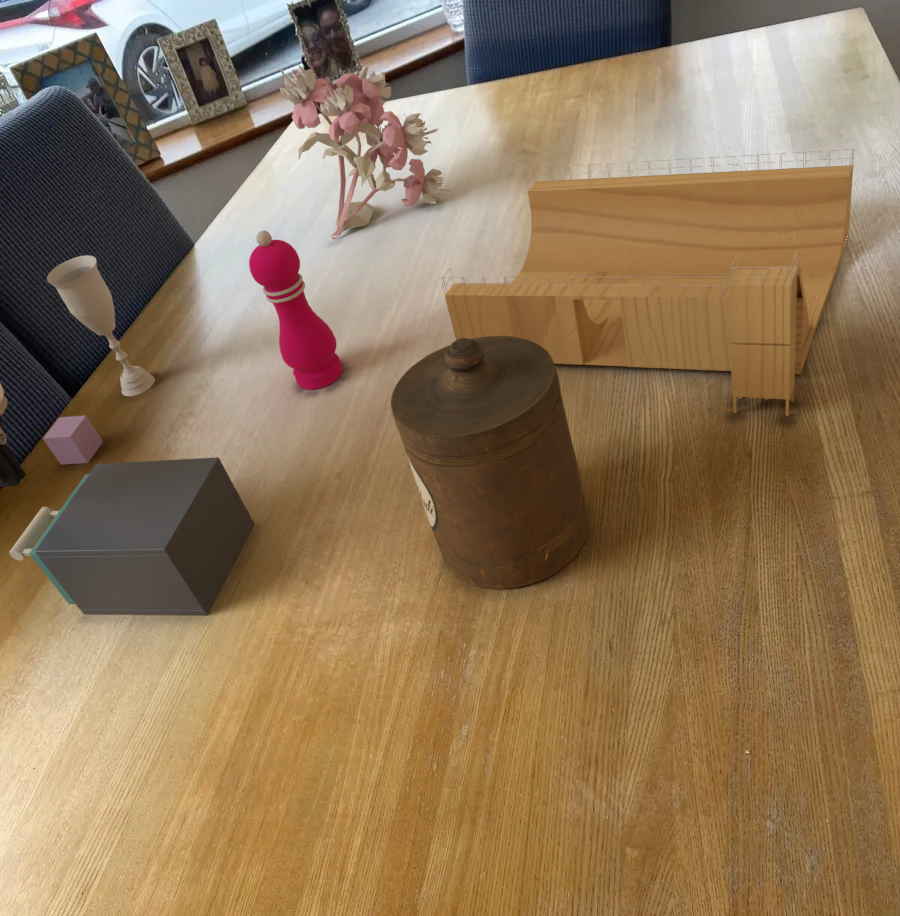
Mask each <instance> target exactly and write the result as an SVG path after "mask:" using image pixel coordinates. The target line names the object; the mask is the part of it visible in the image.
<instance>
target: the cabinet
mask: <svg viewBox="0 0 900 916" xmlns="http://www.w3.org/2000/svg"><path fill="white" fill-rule="evenodd" d="M88 474H89V476H88V477H87V478H86V480H85V481H84V483H83V484H82V485H81V487H80V488H79V490H78V491H77V493H76V494H75V495H74V497H73V498H72V500H71V501H70V502H69V504H68V505H67V507H66V508H65V509H64V511H63V512H62V514H61V515H60V516H59V518H58V519H57V521H56V522H55V524H54V525H53V526H52V528H51V529H50V531H49V532H48V533H47V535H46V536H45V538H44V539H43V540H42V542H41V543H40V545H39V546H38V547H37V549H36V550H35V553H36V554H37V555H38V556H39V558H40V559H41V561H42V562H43V563H44V564H45V566H46V567H47V568H48V569H49V571H50V572H51V573H52V575H53V576H54V577H55V578H56V580H57V581H58V582H59V583H60V585H61V586H62V587H63V588H64V590H65V591H66V592H67V594H68V595H69V596H70V597H71V599H72V600H73V601H74V602H75V604H74V605H76V607H77V608H78V609H79V610H80V612H81V613H82V614H83V615H130V616H131V615H132V616H133V615H137V616H139V615H140V616H141V615H142V616H143V615H144V616H147V615H148V616H208V615H209V613H210V611H211V608H212V607H213V605H214V603H215V601H216V599H217V597H218V595H219V594H220V592H221V589H222V587H223V585H224V584H225V581H226V580H227V578H228V577H229V574H230V572H231V570H232V568H233V566H234V564H235V562H236V560H237V559H238V556H239V554H240V553H241V551H242V549H243V547H244V545H245V543H246V541H247V539H248V538H249V535H250V533H251V531H252V530H253V527H254V526H255V522H254V521H253V519H252V517H251V515H250V512H249V511H248V509H247V508H246V505H245V503H244V502H243V500H242V498H241V496H240V494H239V492H238V491H237V488H236V487H235V485H234V483H233V481H232V479H231V478H230V475H229V474H228V472H227V471H226V468H225V466H224V464H223V463H222V461H221V459H220V457H219V456H218V457H217V456H215V457H200V458H199V457H198V458H180V459H164V460H161V459H160V460H146V461H145V460H144V461H126V462H125V461H124V462H112V463H111V462H109V463H96V464H95V466H94V467H93V468H92V470H91V471H90V473H88Z"/></svg>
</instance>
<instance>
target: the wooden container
mask: <svg viewBox="0 0 900 916" xmlns="http://www.w3.org/2000/svg"><path fill="white" fill-rule="evenodd" d="M561 390H562V389H561V384H560V379H559V375H558V371H557V368H556V364H554V362H553V359H552V357H551V356H550V354H549V353H548V352H547V351H546V350H545V349H544V348H543V347H541V346H540V345H538V344H536V343H534V342H532V341H529V340H526V339H522V338H518V337H512V336H486V337H479V338H473V339H468V338H461V339H458V340H456V339H455V340H454V341H453V342H452V343H451V344H449V345H447V346H444V347H442V348H440V349H438V350H436V351H434V352H431V353H430V354H427V355H426V356H424V357H422V358H421V359H420V360H418V361H417V362H416V363H415V364H412V366H411V367H410V368H409V369H408V370H406V371H405V372H404V373H403V374H402V376H401V377H400V379H399V380H398V381H397V383H396V385H395V387H394V388H393V392H392V393H391V399H390V410H391V413H392V417H393V420H394V423H395V426H396V428H397V431H398V434H399V437H400V439H401V441H402V444H403V448H404V451H405V454H406V457H407V460H408V463H409V466H410V469H411V472H412V475H413V478H414V481H415V484H416V487H417V491H418V494H419V496H420V500H421V503H422V505H423V508H424V512H425V514H426V517H427V520H428V523H429V525H430V528H431V530H432V533H433V535H434V537H435V540H436V543H437V545H438V549H439V551H440V554H441V556H442V558H443V560H444V563H445V565H446V567H447V568H448V569H449V571H450V572H452V574H454V576H456V577H457V578H458V579H460V580H461V581H464V582H465V583H467V584H470V585H472V586H476V587H480V588H484V589H493V590H506V589H515V588H520V587H525V586H528V585H533V584H535V583H537V582H541V581H543V580H545V579H547V578H549V577H552V576H553V575H554V574H556V573H558V572H560V571H561V570H563V569H564V567H567V565H568V564H569V563H571V562H572V561H573V559H575V557H576V556H577V555H578V554H579V552H580V551H581V550H582V548H583V546H584V544H585V542H586V540H587V538H588V534H589V526H590V525H589V517H588V509H587V505H586V500H585V495H584V492H583V484H582V479H581V475H580V474H581V473H580V470H579V465H578V460H577V457H576V452H575V449H574V448H575V447H574V444H573V440H572V436H571V433H570V432H571V431H570V429H569V428H570V427H569V423H568V418H567V414H566V410H565V405H564V400H563V397H562V391H561Z"/></svg>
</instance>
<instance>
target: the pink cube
mask: <svg viewBox="0 0 900 916" xmlns="http://www.w3.org/2000/svg"><path fill="white" fill-rule="evenodd" d="M42 440H43V442H45V444H46V445H47V447H48V448H49V450H50V452H52V454H53V456H54V457H55V458H56V460H57V461H58V462H59V465H79V464H89V462H90V461H91V459H92V458H93V456H94V455H95V454H96V453H97V451H98V450H99V449H100V447H101V446H102V444H103V443H104V440H103V439H102V437H101V436H100V435H99V433H98V431H97V430H96V428H95V427H94V425H93V423H92V422H91V420H90V419H89V417H88V416H87V415H85V414H83V415H72V416H71V415H70V416H59V417H58V418H57V419H56V421H54V423H53V425H52V426H51V427H50V429H49V430H48V431H47V432H46V433H45V435H44V436H43V437H42Z"/></svg>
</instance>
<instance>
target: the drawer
mask: <svg viewBox="0 0 900 916" xmlns="http://www.w3.org/2000/svg"><path fill="white" fill-rule="evenodd" d="M89 474H90V473H86V474H84V476H83V477H82V479H81V480H80V481H79V483H78V485H77V486H76V487H75V488H74V490H73V491H72V493H70V495H69V497H68V498H67V500H66V501H65V503H64V504H63V505H62V507H60V510H53V509H52V508H50V507H48V506H42V507H41V508H40V509H39V511H38V512H37V513H36V515H35V516H34V518H33V519H32V520H31V522H30V523H29V524H28V525H27V527H26V529H25V530H24V531H23V533H22V534H21V535H20V537H19V538H18V539H17V540H16V542H15V544H14V545H13V546H12V547H11V549H10V550H9V552H8V553H9V556H10V557H11V558H12V559H14V560H16V561H18V562H21V561H24V559H26V557H31V558H32V560H33V561H34V562H35V564H36V565H37V566H38V567H39V568H40V570H41V571H42V572H43V573H44V575H45V576H46V577H47V578H48V580H49V581H50V583H51V584H52V585H53V586H54V587H55V588H56V590H57V591H58V592H59V594H60V595H61V596H62V598H63V599H64V600H65V601H66V603H67V604H68V605H76V604H75V602H74V601H73V600H72V599H71V597H70V596H69V595H68V594H67V592H66V591H65V590H64V588H63V587H62V586H61V585H60V583H59V582H58V581H57V580H56V578H55V577H54V576H53V575H52V573H51V572H50V571H49V569H48V568H47V567H46V566H45V564H44V563H43V562H42V561H41V559H40V558H39V556H38V555H37V554H36V553H35V550H36V549H37V547H38V546H39V545H40V543H41V542H42V540H43V539H44V538H45V536H46V535H47V533H48V532H49V531H50V529H51V528H52V526H53V525H54V524H55V522H56V521H57V519H58V518H59V516H60V515H61V514H62V512H63V511H64V509H65V508H66V507H67V505H68V504H69V502H70V501H71V500H72V498H73V497H74V495H75V494H76V493H77V491H78V490H79V488H80V487H81V485H82V484H83V483H84V481H85V480H86V478H87V477H88V476H89Z"/></svg>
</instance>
